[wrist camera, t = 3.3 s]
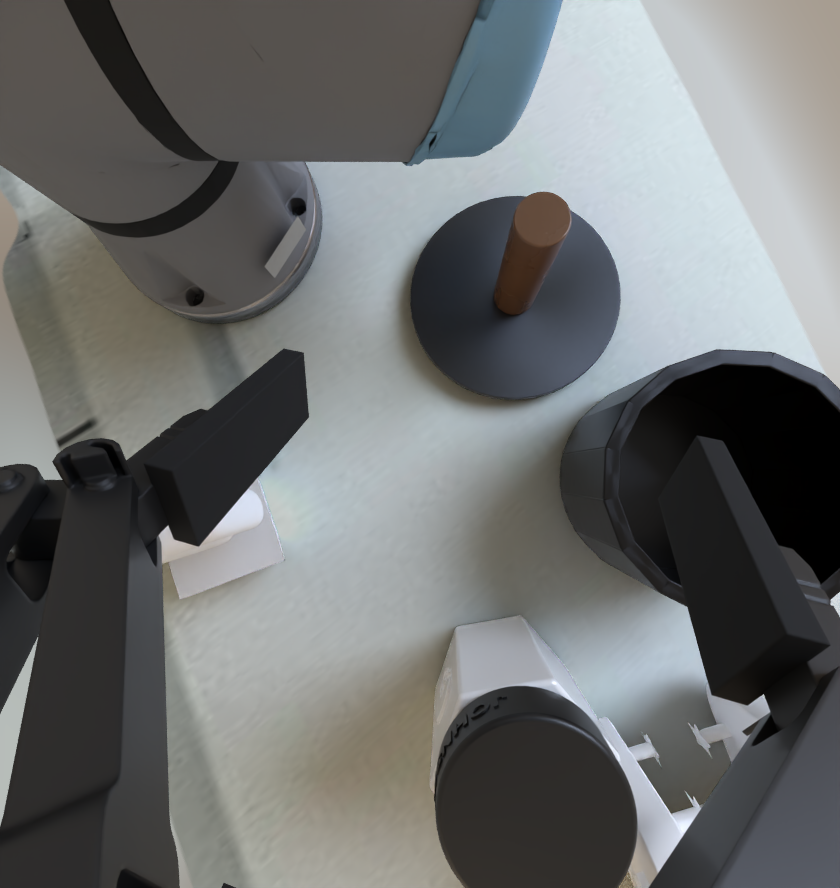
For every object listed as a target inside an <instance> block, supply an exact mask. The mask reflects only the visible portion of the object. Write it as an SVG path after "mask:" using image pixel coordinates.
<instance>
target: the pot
mask: <svg viewBox="0 0 840 888" xmlns="http://www.w3.org/2000/svg"><path fill="white" fill-rule="evenodd" d="M696 436H702V437H707V438H711V439H716V440H721V441H723V442H724V444H725V446H726V447H727V449H728V451H729V453H730V455H731V457H732V459H733V461H734V463H735V464H736V466H737V468H738V470H739V472H740V474H741V476H742V478H743V480H744V482H745V483H746V485H747V487H748V489H749V491H750V493H751V495H752V497H753V499H754V500H755V502H756V504H757V506H758V508H759V510H760V512H761V514H762V516H763V518H764V519H765V521H766V523H767V525H768V527H769V529H770V531H771V533H772V535H773V537H774V538H775V540H776V542H777V544H778V546H783V547H787V548H791V549H793V550H794V551H795V552H796V553H797V554H798V555H799V556H800V557H801V558H802V559H803V560H804V561H805V562H806V563H807V564H808V565H809V566H810V567H811V568H812V570H813V572H814V573H815V575H816V577H817V579H818V580H819V582H820V584H821V586H822V587H821V589H822V590H824V591H825V593H826V594H827V596H828V598H829V600H831V599H832V598H833V597H834V596H835V595H836V594H838V593H839V592H840V390H839V388H838V387H837V386H836V385H835V384H834V383H833V382H832V381H831V380H830V379H829V378H828V377H827V376H825V375H824V374H822V373H820V372H817V371H815V370H813V369H811V368H808V367H806V366H804V365H801V364H799V363H797V362H795V361H792V360H790V359H788V358H785V357H783V356H781V355H779V354H776V353H772V352H761V351H741V350H720V349H719V350H718V349H717V350H714V351H711V352H708V353H705V354H702V355H699V356H696V357H693V358H690V359H687V360H684V361H681V362H678V363H675V364H672V365H669V366H667V367H665V368H663V369H661V370H659V371H656V372H654V373H652V374H650V375H648V376H646V377H644V378H642V379H640V380H638V381H636V382H634V383H632V384H630V385H628V386H626V387H623V388H621V389H619V390H617V391H615V392H613V393H611V394H609V395H607V396H606V397H605V398H604V399H603V400H602V401H600V402H599V403H598V404H597V405H595V406H594V407H593V408H591V409H590V410H589V411H588V412H587V413H586V414H585V415H584V416H583V417H582V418H581V419H580V420H579V422H578V424H577V425H576V426H575V428H574V430H573V432H572V433H571V435H570V437H569V439H568V441H567V444H566V446H565V449H564V453H563V457H562V460H561V468H560V488H561V495H562V500H563V503H564V507H565V510H566V513H567V515H568V517H569V520H570V522H571V524H572V525H573V527H574V529H575V531H576V532H577V534H578V535H579V536H580V537H581V539H582V540H583V541H584V542H585V544H586V545H587V546H588V547H589V548H590V549H591V550H592V551H593V552H594V553H596V555H597V556H598V557H599V558H600V559H601V560H603V561H604V562H606V563H608V564H610V565H611V566H613V567H615V568H617V569H618V570H620V571H622V572H624V573H626V574H627V575H629V576H631V577H633V578H634V579H636V580H638V581H640V582H641V583H643V584H645V585H647V586H648V587H650V588H652V589H654V590H655V591H657V592H659V593H661V594H663V595H665V596H667V597H669V598H671V599H673V600H675V601H677V602H679V603H681V604H683V605H685V606H687V603H686V599H685V596H684V592H683V588H682V585H681V581H680V577H679V574H678V570H677V566H676V563H675V559H674V555H673V552H672V548H671V544H670V541H669V537H668V533H667V530H666V526H665V522H664V519H663V515H662V511H661V508H660V504H659V500H658V498H659V496H660V494H661V493H662V491H663V489H664V488H665V486H666V485H667V483H668V481H669V480H670V478H671V476H672V475H673V473H674V472H675V470H676V468H677V467H678V465H679V463H680V462H681V460H682V459H683V457H684V455H685V454H686V452H687V450H688V449H689V447H690V446H691V444H692V442H693V441H694V439H695V437H696Z"/></svg>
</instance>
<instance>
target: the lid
mask: <svg viewBox="0 0 840 888" xmlns="http://www.w3.org/2000/svg"><path fill="white" fill-rule="evenodd" d="M619 309H620V283H619V277H618V272H617V269H616V266H615V262H614V260H613V258H612V255H611V253H610V251H609V249H608V247H607V246H606V244H605V243H604V241H603V240H602V238H601V237H600V236H599V234H598V233H597V232H596V231H595V230H594V229H593V228H592V227H591V226H590V225H589V224H588V223H587V222H586V221H585V220H584V219H582V218H581V217H580V216H578V215H577V214H575V213H574V212H572V211H571V210H570V209H569V207H568V205H567V203H566V202H565V201H564V200H563V199H562V198H561V197H559V196H558V195H556V194H553V193H549V192H537V193H533V194H531V195H529V196H527V197H524V196H509V197H501V198H494V199H490V200H487V201H483V202H480V203H478V204H475V205H473V206H471V207H468V208H466V209H465V210H463V211H461V212H460V213H458V214H456V215H455V216H454V217H452V218H451V219H450V220H448V221H447V222H446V223H445V224H444V225H443V226H442V227H441V228H440V229H439V230H438V231H437V232H436V233H435V234H434V235H433V237H432V238H431V239H430V241H429V242H428V243H427V245H426V247H425V248H424V250H423V252H422V253H421V255H420V258H419V260H418V262H417V265H416V268H415V271H414V275H413V278H412V285H411V312H412V319H413V323H414V327H415V330H416V333H417V336H418V338H419V341H420V343H421V345H422V347H423V349H424V350H425V352H426V354H427V355H428V357H429V358H430V359H431V360H432V362H433V363H434V364H435V366H436V367H437V368H438V369H439V370H440V371H441V372H442V373H444V374H445V375H446V376H447V377H448V378H450V379H451V380H452V381H454V382H455V383H457V384H458V385H460V386H462V387H464V388H465V389H467V390H470V391H472V392H475V393H477V394H480V395H483V396H487V397H491V398H497V399H505V400H522V399H529V398H535V397H539V396H543V395H547V394H549V393H552V392H554V391H557V390H559V389H561V388H563V387H565V386H566V385H568V384H570V383H572V382H573V381H575V380H576V379H577V378H578V377H580V376H581V375H582V374H584V373H585V372H586V371H587V370H588V369H589V368H590V367H591V366H592V365H593V364H594V363H595V362H596V361H597V360H598V358H599V357H600V356H601V354H602V353H603V352H604V350H605V348H606V347H607V345H608V343H609V341H610V340H611V337H612V335H613V332H614V330H615V327H616V324H617V320H618V316H619Z"/></svg>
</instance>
